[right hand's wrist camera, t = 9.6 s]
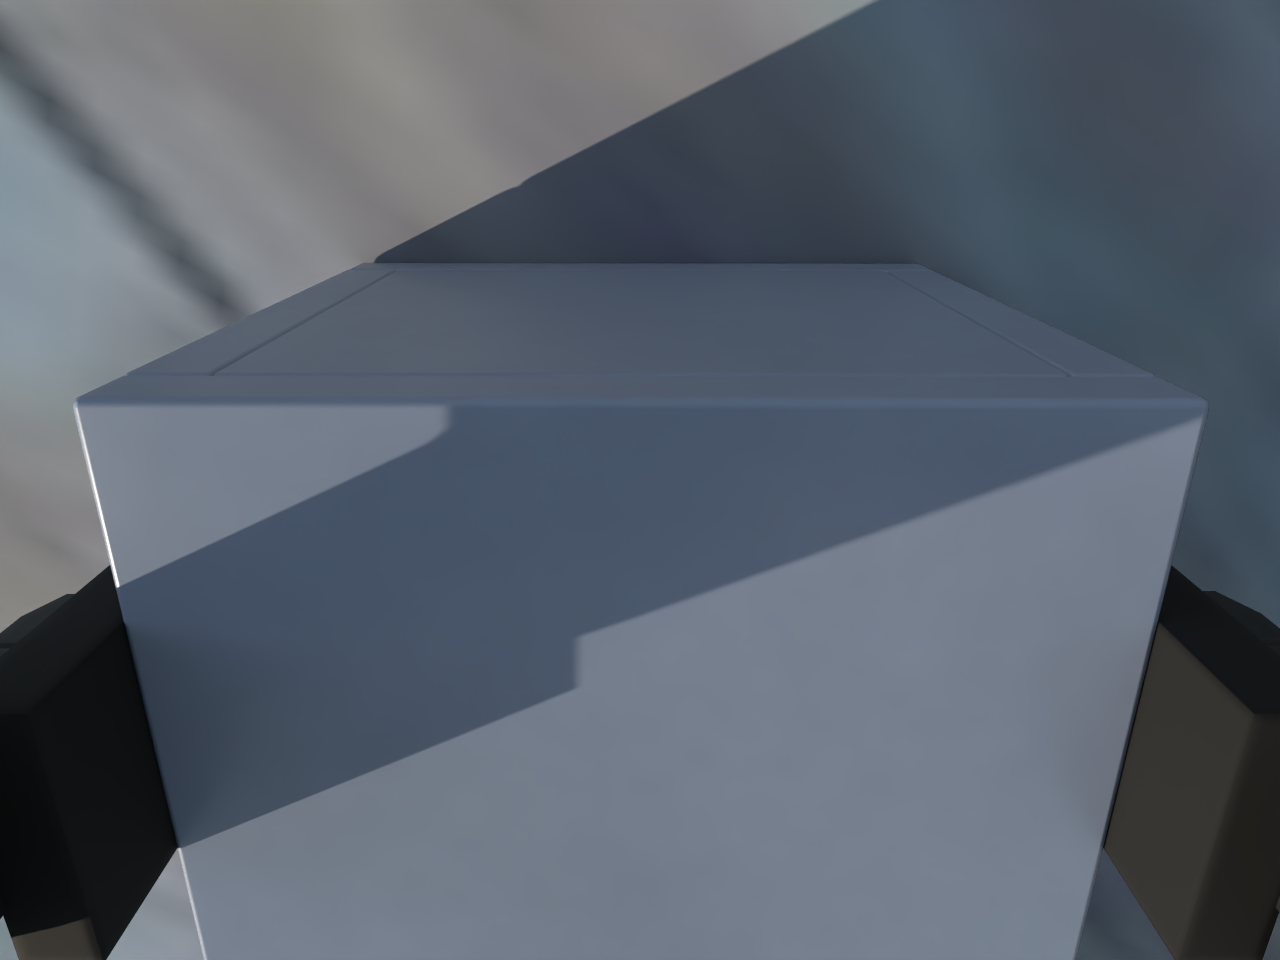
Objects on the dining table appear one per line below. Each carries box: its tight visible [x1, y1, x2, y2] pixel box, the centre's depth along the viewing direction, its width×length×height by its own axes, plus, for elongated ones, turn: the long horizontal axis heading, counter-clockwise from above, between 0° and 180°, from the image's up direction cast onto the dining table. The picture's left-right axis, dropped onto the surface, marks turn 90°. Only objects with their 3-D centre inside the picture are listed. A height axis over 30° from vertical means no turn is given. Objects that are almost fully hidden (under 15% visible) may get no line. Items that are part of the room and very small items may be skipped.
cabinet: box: [73, 263, 1209, 960], centre depth 15 cm, size 20×10×8 cm, turn 0°
